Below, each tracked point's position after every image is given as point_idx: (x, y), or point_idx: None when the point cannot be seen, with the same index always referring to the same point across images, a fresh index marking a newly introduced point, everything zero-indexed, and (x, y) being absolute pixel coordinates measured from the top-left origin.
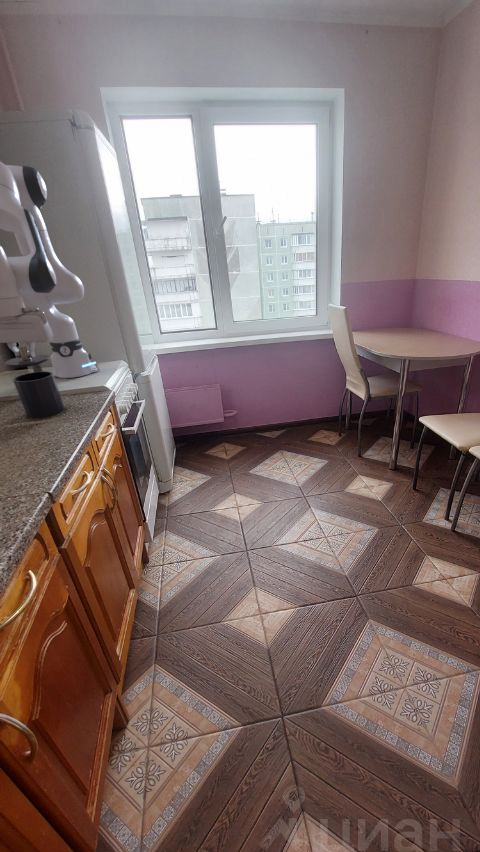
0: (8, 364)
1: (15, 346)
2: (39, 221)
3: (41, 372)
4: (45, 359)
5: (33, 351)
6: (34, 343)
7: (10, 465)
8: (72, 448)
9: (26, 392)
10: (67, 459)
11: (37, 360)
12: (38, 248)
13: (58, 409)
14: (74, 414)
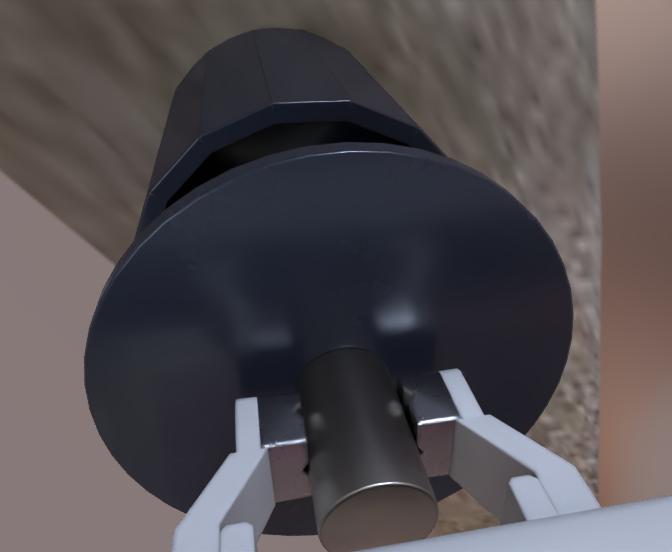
0: (272, 533)
1: (232, 516)
2: None
3: (293, 122)
4: (567, 356)
5: (477, 417)
6: (583, 495)
7: (442, 528)
8: (588, 433)
9: None
10: (594, 480)
11: (499, 402)
12: None
13: None
14: (470, 149)
